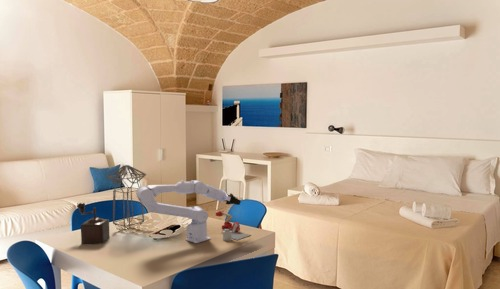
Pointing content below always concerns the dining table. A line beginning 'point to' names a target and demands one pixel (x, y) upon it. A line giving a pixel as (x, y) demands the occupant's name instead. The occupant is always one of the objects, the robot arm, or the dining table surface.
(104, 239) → the coffee grinder
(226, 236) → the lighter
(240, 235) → the mat
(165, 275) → the dining table surface
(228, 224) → the red flower sprig
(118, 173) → the geometric lantern
